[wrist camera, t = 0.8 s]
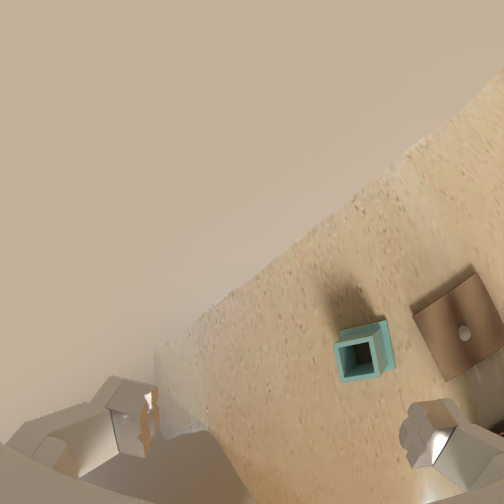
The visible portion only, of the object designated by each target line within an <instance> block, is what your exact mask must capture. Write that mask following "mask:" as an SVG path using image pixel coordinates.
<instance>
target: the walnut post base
mask: <svg viewBox="0 0 504 504" xmlns="http://www.w3.org/2000/svg"><path fill="white" fill-rule="evenodd" d="M412 317H413V319H414V321H415V323H416V325H417V327H418V328H419V330H420V332H421V334H422V336H423V338H424V340H425V342H426V344H427V346H428V348H429V350H430V352H431V354H432V356H433V358H434V360H435V362H436V364H437V366H438V368H439V370H440V372H441V374H442V376H443V378H444V381H445V382H447V381H449V380H450V379H452V378H454V377H455V376H457V375H459V374H461V373H462V372H464V371H466V370H467V369H469V368H470V367H472V366H474V365H475V364H477V363H478V362H480V361H482V360H483V359H485V358H486V357H488V356H489V355H491V354H492V353H494V352H495V351H497V350H498V349H500V348H501V347H502V346H504V325H503V323H502V321H501V319H500V316H499V314H498V312H497V310H496V308H495V306H494V304H493V302H492V300H491V298H490V296H489V294H488V292H487V290H486V288H485V286H484V285H483V283H482V281H481V279H480V277H479V275H478V274H477V272H476V273H474V274H473V275H472V276H470V277H469V278H467V279H466V280H465V281H463V282H462V283H461V284H459V285H458V286H456V287H455V288H453V289H452V290H451V291H449V292H448V293H446V294H445V295H443V296H442V297H440V298H439V299H437V300H436V301H434V302H433V303H431V304H430V305H428V306H427V307H425V308H424V309H422V310H421V311H419V312H417V313H416V314H414V315H413V316H412Z"/></svg>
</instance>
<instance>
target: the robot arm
mask: <svg viewBox="0 0 504 504" xmlns="http://www.w3.org/2000/svg"><path fill="white" fill-rule="evenodd" d="M157 398H158V388H157V387H156V386H155V385H150V384H146V383H142V382H137V381H133V380H129V379H125V378H121V377H117V376H110V377H108V379H107V380H106V382H105V383H104V384H103V385H102V387H101V388H100V389H99V391H98V392H97V393H96V395H95V396H94V397H93V399H92V400H91V401H90V403H87V402H84V403H81V404H78V405H75V406H73V407H70V408H67V409H64V410H61V411H58V412H55V413H52V414H49V415H46V416H43V417H40V418H37V419H34V420H31V421H28V422H25V423H24V424H23V425H22V426H21V427H20V428H19V429H18V431H17V432H16V433H15V434H14V435H13V436H12V437H11V439H10V440H9V441H8V442H7V443H6V444H5V445H4V444H3V443H1V442H0V504H155V503H151V502H147V501H143V500H139V499H136V498H132V497H129V496H125V495H121V494H118V493H115V492H112V491H109V490H106V489H103V488H100V487H97V486H94V485H91V484H88V483H86V482H83V481H81V480H80V479H79V477H81V476H83V475H84V474H86V473H88V472H89V471H91V470H93V469H94V468H96V467H97V466H99V465H101V464H102V463H104V462H106V461H107V460H109V459H110V458H112V457H114V456H115V455H116V454H118V453H119V452H122V453H126V454H130V455H134V456H138V457H143V458H145V457H146V454H147V452H148V450H149V447H150V445H151V439H150V437H151V436H153V435H154V434H155V433H156V430H157V427H158V423H159V406H158V405H157V404H156V401H157ZM407 413H408V415H409V417H408V418H407V419H405V420H404V421H403V422H402V425H401V427H400V431H399V440H400V444H401V446H402V447H403V448H404V449H406V450H407V451H408V452H407V455H406V457H407V459H408V461H409V463H410V466H411V468H412V469H416V468H422V467H429V466H433V468H435V469H436V470H437V471H438V472H440V473H441V474H442V475H444V476H445V477H446V478H447V479H449V480H450V481H451V482H452V483H454V484H455V485H456V486H458V487H459V488H460V489H461V490H463V491H464V492H465V493H463V494H460V495H457V496H453V497H450V498H446V499H443V500H439V501H435V502H431V503H427V504H504V438H503V437H501V436H499V435H497V434H495V433H493V432H491V431H489V430H487V429H485V428H482V427H480V426H478V425H476V424H471V423H470V422H469V421H468V419H467V418H466V417H465V415H464V414H463V413H462V412H461V410H460V409H459V408H458V406H457V405H456V404H455V402H454V401H453V400H452V399H450V398H446V399H439V400H434V401H423V402H413V403H412V404H411V405H410V407H409V409H408V411H407Z"/></svg>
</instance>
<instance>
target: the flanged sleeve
mask: <svg viewBox="0 0 504 504" xmlns="http://www.w3.org/2000/svg"><path fill="white" fill-rule="evenodd" d="M339 333H340V338H341V339H340V340H338V341H337V342H335V343H333V348H334V353H335V358H336V363H337V368H338V373H339V378H340V383H344V382H351V381H357V380H363V379H369V378H375V377H380V376H381V374H382V373H383V371H386V370H391V369H395V368H396V366H395V360H394V354H393V349H392V343H391V338H390V333H389V328H388V323H387V320H382V321H378V322H374V323H370V324H366V325H362V326H357V327H353V328H348V329H344V330H340V331H339ZM365 342H369V346H370V351H371V356H372V361H373V362H368V363H363V364H358V365H357V359H356V354H355V349H354V345H355V344H360V343H365Z"/></svg>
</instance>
